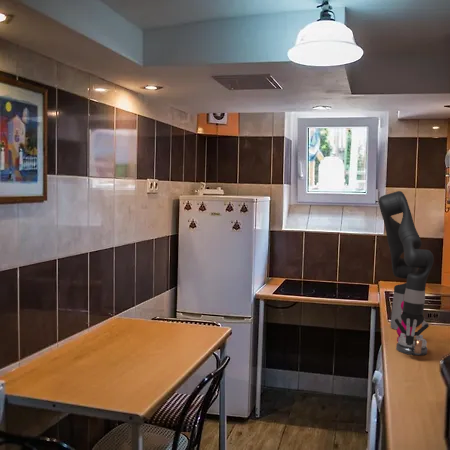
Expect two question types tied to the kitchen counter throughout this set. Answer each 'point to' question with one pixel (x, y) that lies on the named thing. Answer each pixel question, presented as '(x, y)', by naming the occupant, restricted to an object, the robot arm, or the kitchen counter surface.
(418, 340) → the crank handle
